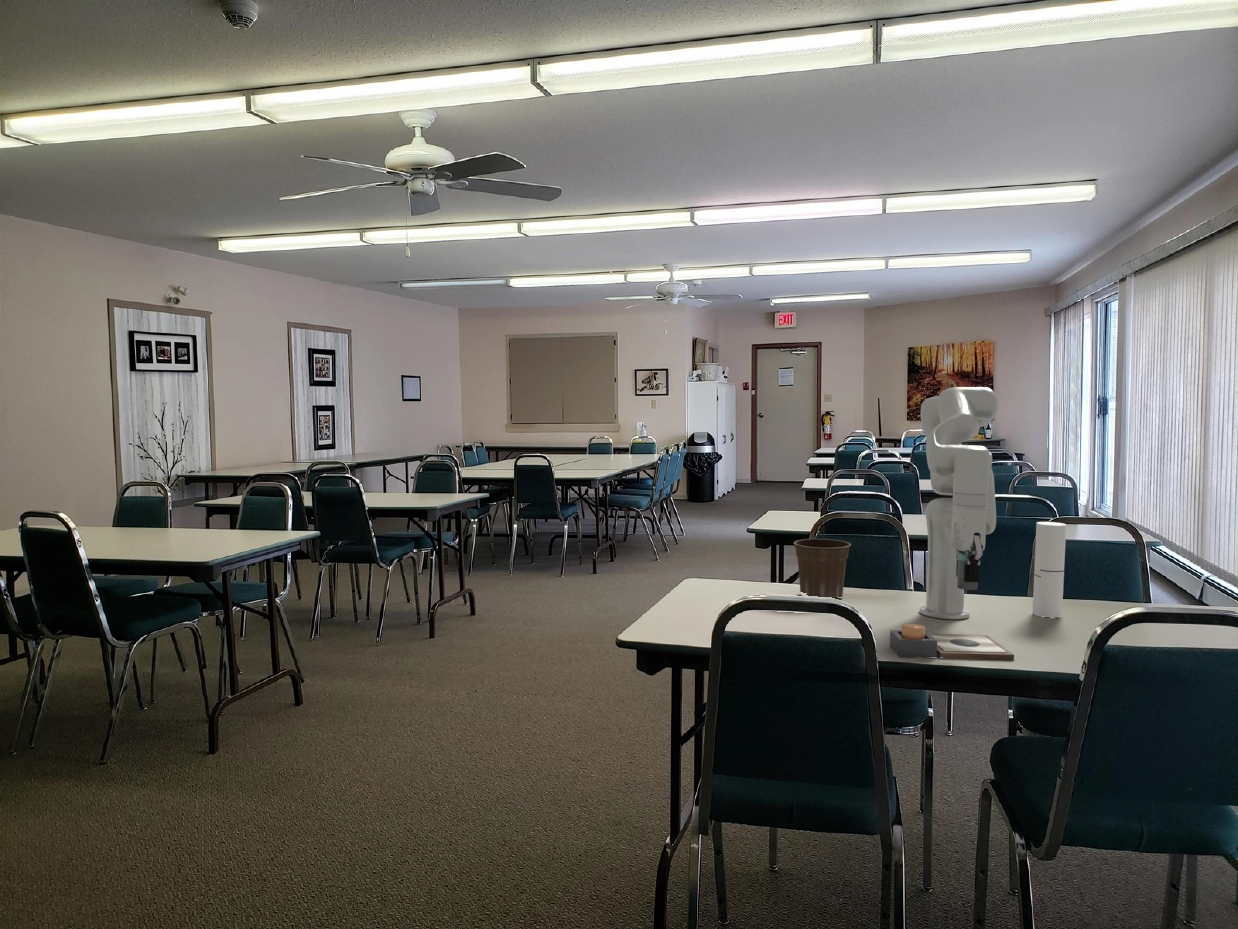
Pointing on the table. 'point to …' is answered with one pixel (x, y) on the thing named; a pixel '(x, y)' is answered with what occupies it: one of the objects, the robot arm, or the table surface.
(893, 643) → the button housing
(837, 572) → the plant pot
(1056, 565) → the cylindrical container
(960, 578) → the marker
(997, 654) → the board
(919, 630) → the button
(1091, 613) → the table surface
